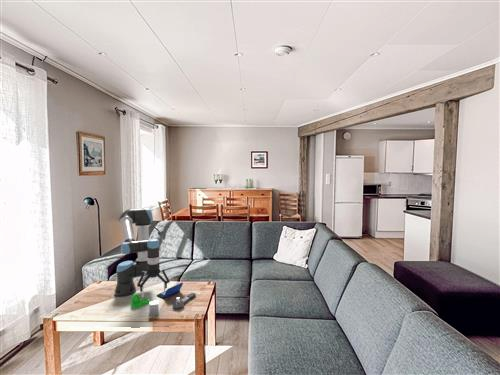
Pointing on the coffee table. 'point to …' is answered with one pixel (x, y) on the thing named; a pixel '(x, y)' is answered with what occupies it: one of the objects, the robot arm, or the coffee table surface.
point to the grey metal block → (153, 308)
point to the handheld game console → (170, 291)
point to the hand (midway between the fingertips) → (153, 294)
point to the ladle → (182, 301)
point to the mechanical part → (138, 301)
